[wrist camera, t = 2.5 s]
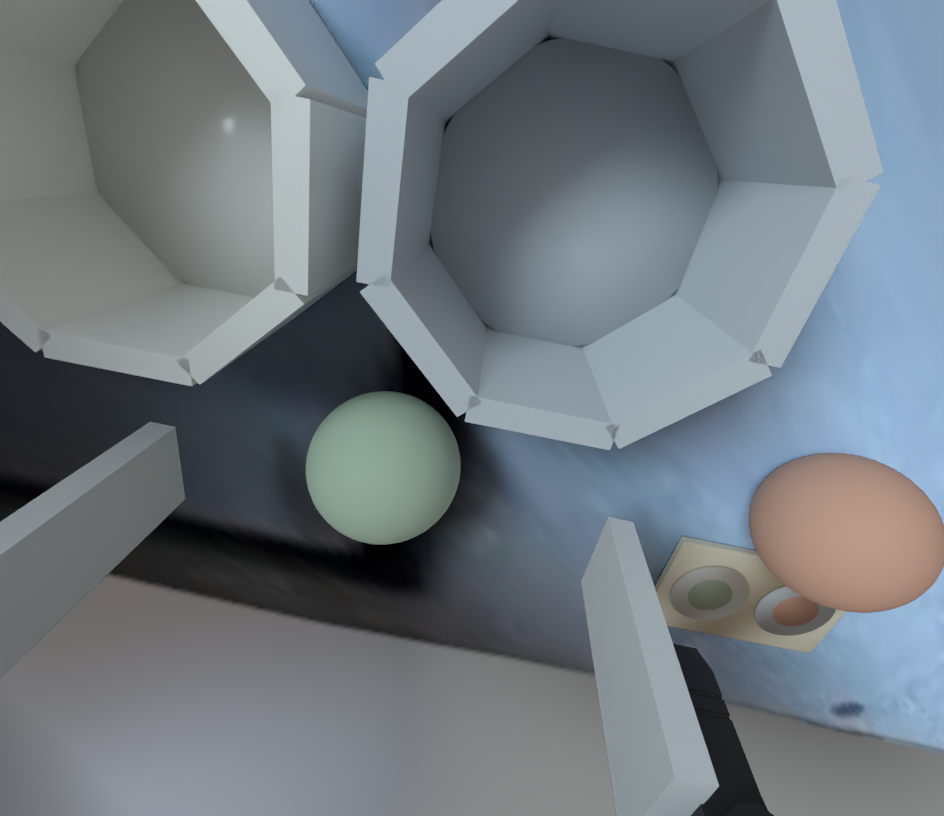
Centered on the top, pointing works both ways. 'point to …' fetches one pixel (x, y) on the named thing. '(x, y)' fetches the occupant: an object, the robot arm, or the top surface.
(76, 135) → the white octagonal bowl
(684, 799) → the robot arm
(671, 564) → the card
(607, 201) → the grey octagonal bowl
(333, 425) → the sage ball
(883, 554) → the terracotta ball
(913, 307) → the top surface
